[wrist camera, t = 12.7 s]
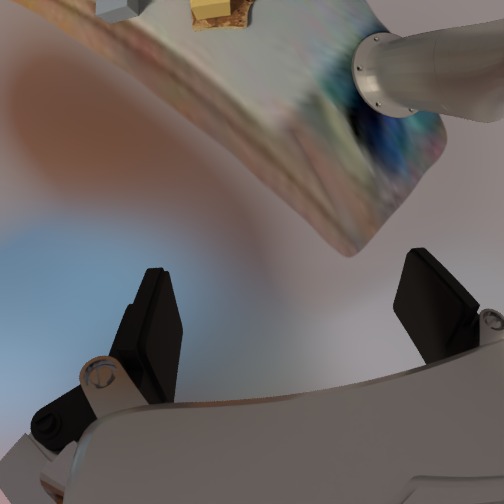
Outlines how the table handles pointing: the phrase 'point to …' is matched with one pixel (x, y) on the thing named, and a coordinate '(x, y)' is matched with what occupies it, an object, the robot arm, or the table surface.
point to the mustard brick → (210, 8)
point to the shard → (226, 17)
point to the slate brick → (117, 9)
